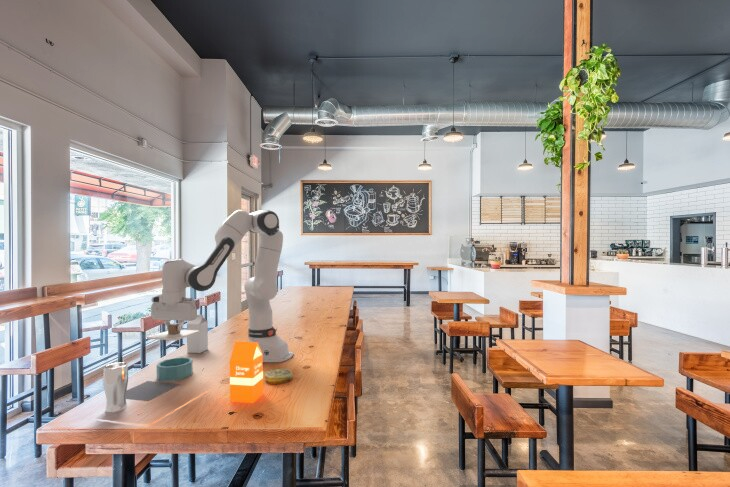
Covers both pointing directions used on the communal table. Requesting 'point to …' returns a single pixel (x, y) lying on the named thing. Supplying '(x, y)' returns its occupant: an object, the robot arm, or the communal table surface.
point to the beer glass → (115, 386)
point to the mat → (149, 390)
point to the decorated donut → (278, 376)
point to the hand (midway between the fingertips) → (174, 330)
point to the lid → (173, 333)
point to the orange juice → (246, 372)
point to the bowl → (174, 369)
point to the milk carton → (198, 335)
